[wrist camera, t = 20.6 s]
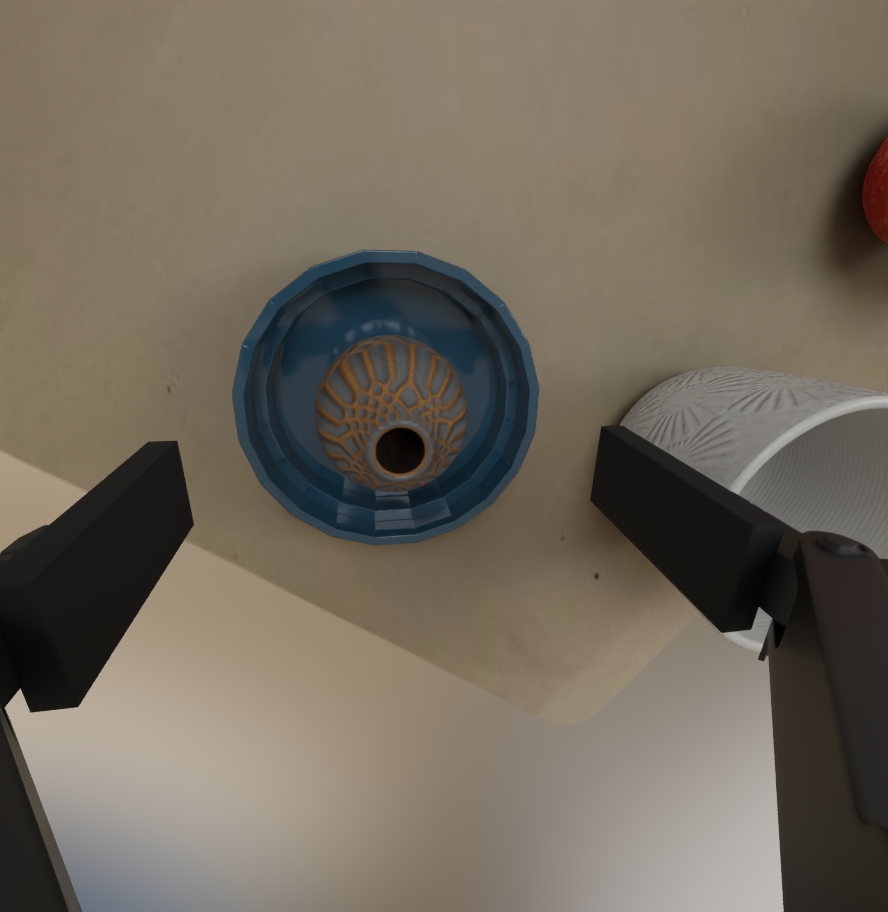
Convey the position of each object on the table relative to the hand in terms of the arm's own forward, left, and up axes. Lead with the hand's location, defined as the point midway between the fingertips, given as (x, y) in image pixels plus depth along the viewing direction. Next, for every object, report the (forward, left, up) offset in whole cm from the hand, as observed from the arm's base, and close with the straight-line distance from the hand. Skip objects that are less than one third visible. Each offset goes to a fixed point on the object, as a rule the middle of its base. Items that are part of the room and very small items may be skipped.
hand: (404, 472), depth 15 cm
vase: (0, 0, -11) cm, 11 cm away
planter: (+4, +18, -12) cm, 22 cm away
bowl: (0, 0, -12) cm, 12 cm away
